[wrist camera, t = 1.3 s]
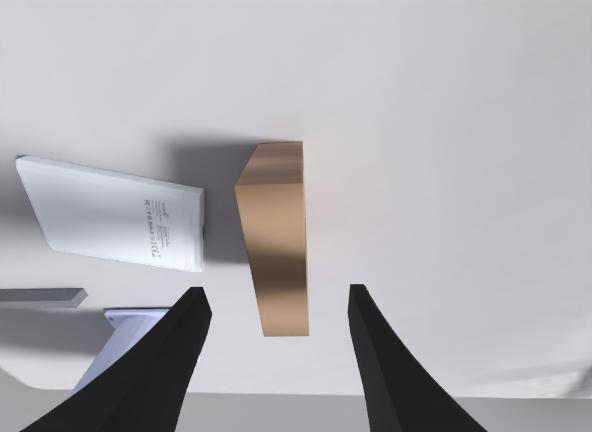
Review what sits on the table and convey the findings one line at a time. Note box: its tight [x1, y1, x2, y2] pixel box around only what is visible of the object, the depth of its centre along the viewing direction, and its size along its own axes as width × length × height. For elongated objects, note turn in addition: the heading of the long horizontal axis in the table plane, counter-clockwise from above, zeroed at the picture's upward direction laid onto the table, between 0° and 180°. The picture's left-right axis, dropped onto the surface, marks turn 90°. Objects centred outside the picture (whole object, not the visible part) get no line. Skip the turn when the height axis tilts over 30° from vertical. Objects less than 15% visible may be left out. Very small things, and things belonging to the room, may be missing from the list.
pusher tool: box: [234, 142, 309, 336], centre depth 16 cm, size 11×3×7 cm, turn 3°
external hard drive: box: [15, 155, 204, 273], centre depth 20 cm, size 2×8×12 cm
